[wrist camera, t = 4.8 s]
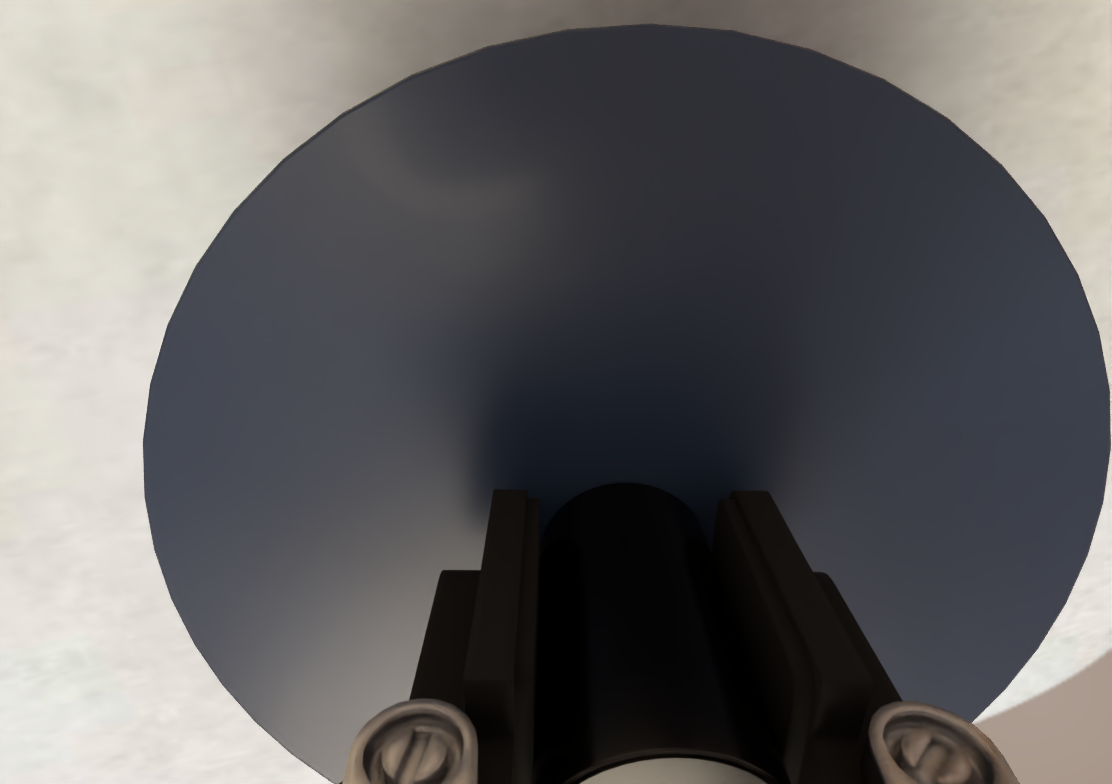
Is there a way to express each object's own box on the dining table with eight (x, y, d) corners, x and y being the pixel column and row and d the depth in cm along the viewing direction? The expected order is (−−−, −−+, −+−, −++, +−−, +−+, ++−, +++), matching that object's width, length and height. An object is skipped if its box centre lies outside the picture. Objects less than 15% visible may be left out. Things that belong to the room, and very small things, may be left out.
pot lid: (69, 27, 9) (-649, -89, 4) (1208, 36, 10) (2154, -63, 4) (255, 809, 16) (87, 1207, 10) (947, 812, 16) (1168, 1211, 10)
